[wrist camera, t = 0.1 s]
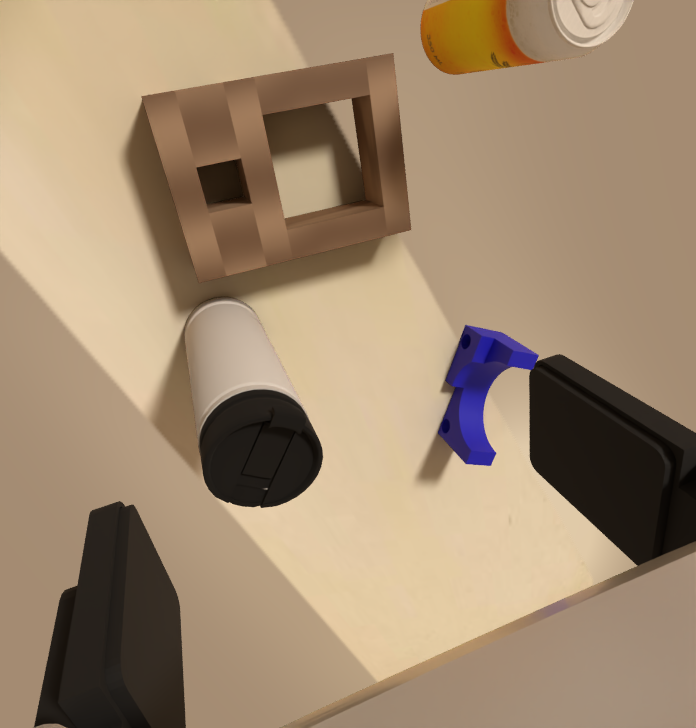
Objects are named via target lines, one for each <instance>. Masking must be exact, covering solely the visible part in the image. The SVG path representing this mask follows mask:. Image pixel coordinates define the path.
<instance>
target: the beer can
mask: <svg viewBox="0 0 696 728" xmlns="http://www.w3.org/2000/svg"><path fill="white" fill-rule="evenodd" d="M633 1H634V0H427V2H426V5H425V7H424V10H423V14H422V18H421V40H422V45H423V48H424V50H425V53H426V55H427V57H428V58H429V60H430V61H431V63H432V64H433V65H434V66H435V67H436V68H438V69H439V70H441V71H443V72H445V73H448V74H453V75H455V74H464V73H472V72H479V71H486V70H493V69H501V68H508V67H514V66H522V65H530V64H536V63H544V62H550V61H558V60H565V59H572V58H578V57H582V56H585V55H587V54H589V53H591V52H592V51H593V50H595V49H596V48H598V47H599V46H600V45H601V44H602V43H604V42H605V41H607V40H608V39H610V38H611V37H612V36H613V35H614V34H615V33H616V32H617V31H618V29H619V28H620V27H621V26H622V24H623V23H624V21H625V19H626V18H627V16H628V14H629V12H630V9H631V7H632V4H633Z"/></svg>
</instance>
